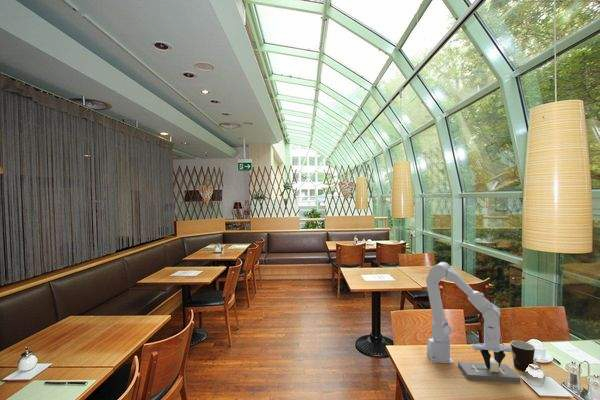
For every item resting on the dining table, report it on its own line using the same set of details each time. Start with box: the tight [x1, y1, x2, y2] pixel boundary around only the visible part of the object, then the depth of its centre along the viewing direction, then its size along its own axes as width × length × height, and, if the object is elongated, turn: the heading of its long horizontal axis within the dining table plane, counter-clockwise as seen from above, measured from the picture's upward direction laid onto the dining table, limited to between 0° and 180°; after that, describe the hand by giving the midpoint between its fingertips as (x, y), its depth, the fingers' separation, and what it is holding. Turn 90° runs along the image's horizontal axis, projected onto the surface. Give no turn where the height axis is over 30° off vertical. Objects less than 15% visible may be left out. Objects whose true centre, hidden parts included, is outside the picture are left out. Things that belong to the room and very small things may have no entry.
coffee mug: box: [510, 340, 536, 373], centre depth 134 cm, size 12×9×10 cm
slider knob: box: [489, 357, 499, 372], centre depth 128 cm, size 3×4×4 cm
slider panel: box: [457, 361, 522, 384], centre depth 128 cm, size 20×10×2 cm, turn 83°
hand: (492, 368), depth 128 cm, fingers closed on slider knob, 3 cm apart
